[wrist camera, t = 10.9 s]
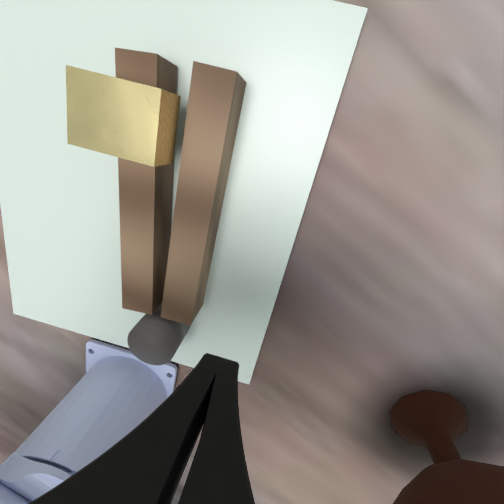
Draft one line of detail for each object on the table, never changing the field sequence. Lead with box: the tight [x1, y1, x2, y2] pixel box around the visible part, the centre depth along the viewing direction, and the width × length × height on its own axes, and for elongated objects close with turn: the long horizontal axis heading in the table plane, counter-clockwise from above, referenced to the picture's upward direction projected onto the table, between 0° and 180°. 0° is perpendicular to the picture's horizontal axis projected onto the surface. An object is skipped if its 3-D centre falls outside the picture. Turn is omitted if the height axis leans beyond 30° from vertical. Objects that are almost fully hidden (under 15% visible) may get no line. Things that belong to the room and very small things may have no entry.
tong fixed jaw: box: [127, 61, 247, 365], centre depth 17 cm, size 18×4×3 cm, turn 167°
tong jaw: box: [115, 48, 177, 315], centre depth 16 cm, size 14×2×2 cm, turn 171°
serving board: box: [0, 0, 368, 385], centre depth 18 cm, size 24×20×1 cm
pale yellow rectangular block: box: [66, 65, 181, 167], centre depth 13 cm, size 3×4×2 cm
